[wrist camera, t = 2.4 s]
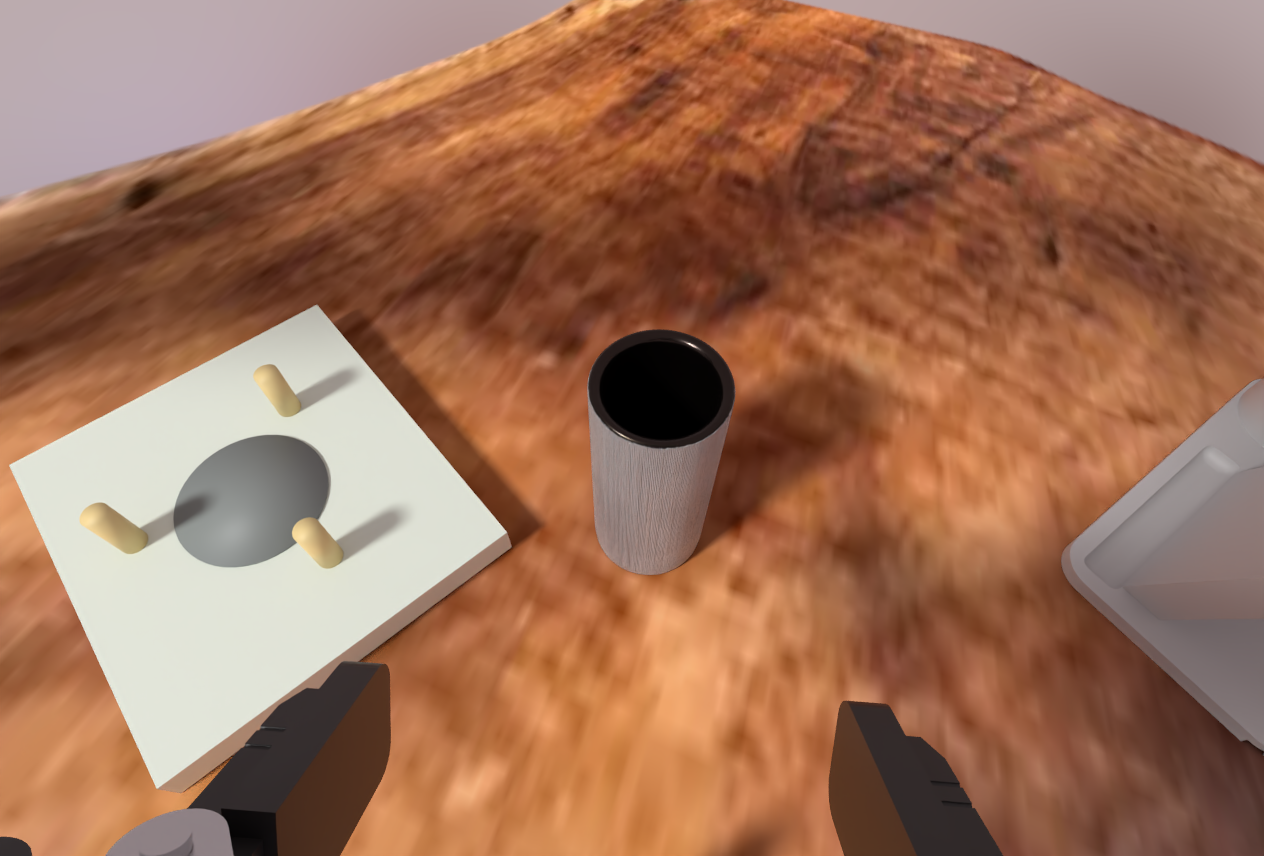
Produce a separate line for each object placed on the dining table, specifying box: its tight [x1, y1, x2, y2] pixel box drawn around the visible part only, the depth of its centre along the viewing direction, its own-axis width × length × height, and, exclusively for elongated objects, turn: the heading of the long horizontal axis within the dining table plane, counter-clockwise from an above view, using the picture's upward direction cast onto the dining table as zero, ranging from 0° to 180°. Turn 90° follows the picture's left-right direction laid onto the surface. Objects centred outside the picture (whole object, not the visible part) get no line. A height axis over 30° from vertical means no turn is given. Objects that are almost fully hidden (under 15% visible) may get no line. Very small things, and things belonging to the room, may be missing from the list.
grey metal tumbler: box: [588, 330, 735, 575], centre depth 25 cm, size 4×4×10 cm
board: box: [9, 305, 512, 793], centre depth 28 cm, size 16×14×4 cm
